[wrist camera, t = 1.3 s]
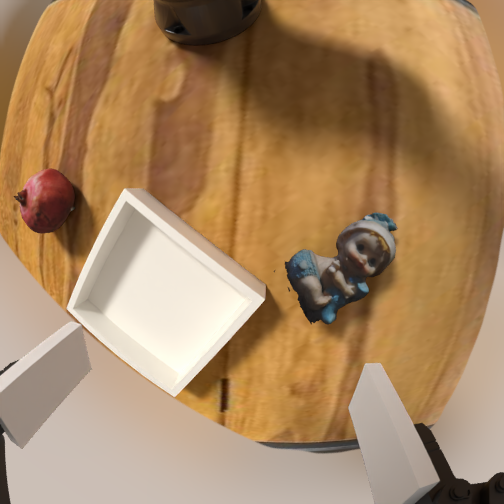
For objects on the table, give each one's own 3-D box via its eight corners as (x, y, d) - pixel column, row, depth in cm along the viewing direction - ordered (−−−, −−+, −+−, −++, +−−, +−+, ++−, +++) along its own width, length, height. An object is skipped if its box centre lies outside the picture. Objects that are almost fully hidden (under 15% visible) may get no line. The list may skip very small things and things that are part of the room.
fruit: (87, 225, 34) (41, 236, 24) (47, 232, 35) (4, 243, 25) (82, 163, 32) (36, 159, 23) (43, 177, 33) (-1, 178, 23)
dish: (84, 297, 37) (66, 308, 32) (143, 188, 33) (124, 188, 28) (183, 377, 38) (174, 397, 33) (265, 284, 34) (265, 299, 29)
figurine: (265, 269, 28) (391, 192, 24) (281, 263, 36) (379, 203, 31) (306, 342, 27) (433, 269, 23) (314, 320, 35) (412, 262, 30)
